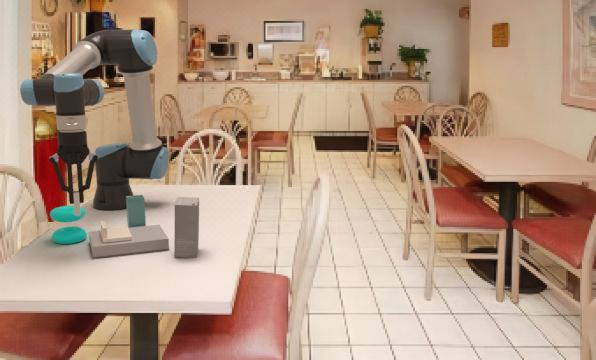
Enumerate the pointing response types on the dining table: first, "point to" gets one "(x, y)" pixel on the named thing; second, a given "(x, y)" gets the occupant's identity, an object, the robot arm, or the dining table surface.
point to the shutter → (114, 233)
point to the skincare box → (186, 227)
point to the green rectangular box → (135, 211)
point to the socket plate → (130, 242)
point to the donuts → (67, 233)
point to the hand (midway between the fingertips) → (77, 214)
